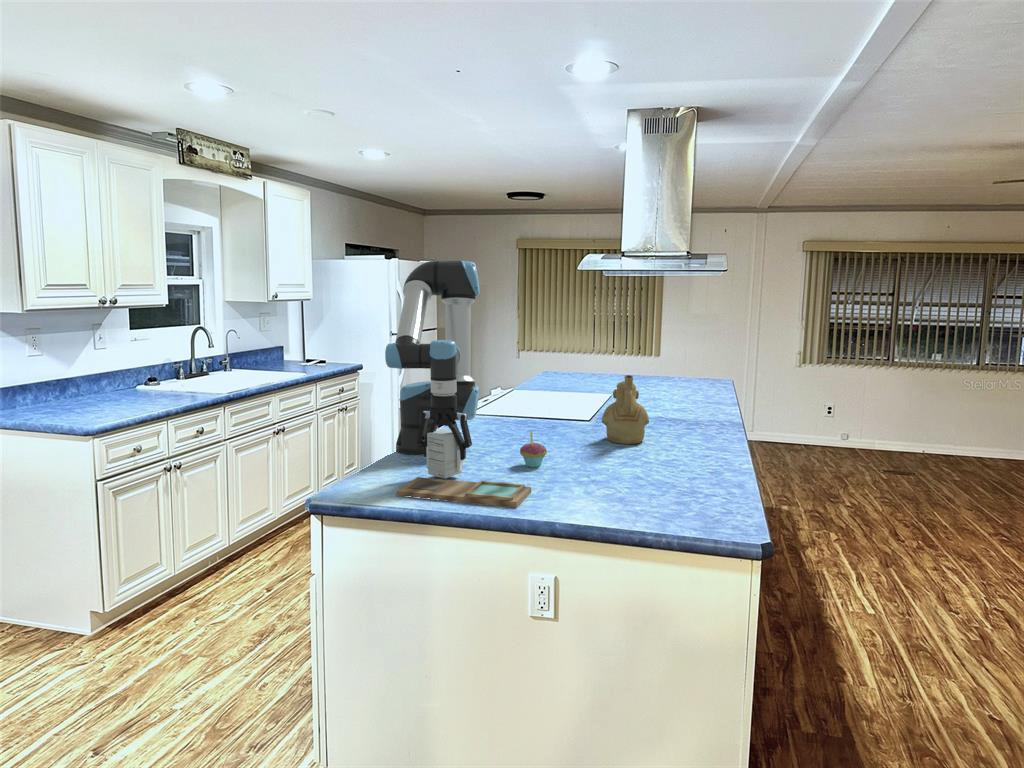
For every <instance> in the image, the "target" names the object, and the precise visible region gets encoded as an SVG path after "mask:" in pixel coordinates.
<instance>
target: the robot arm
mask: <svg viewBox="0 0 1024 768" xmlns="http://www.w3.org/2000/svg"><path fill="white" fill-rule="evenodd" d="M479 282H480V281H479V274H478V270H477V265H476V263H475V262H473V261H469V260H430V261H425V262H424V263H421V264H420V265H418V266H417V267H415V268H414V269H413V270H412V271H411V272H410V274H409V275H408V276H407V278H406V279H405V282H404V285H403V289H402V294H403V296H404V299H403V304H402V308H401V313H400V318H399V323H398V328H397V332H396V338H395V342H393V343H388V344H387V345H386V346H385V350H384V351H385V352H384V354H385V355H384V356H385V358H384V359H385V364H386V366H387V367H388V368H390V369H400V370H403V369H410V370H411V369H429V370H430V380H429V381H418V382H412V383H408V384H405V385H403V386H402V387H401V388H400V390H399V392H400V393H399V411H400V412H399V414H400V415H399V417H400V430H399V433H398V435H397V439H396V443H395V451H396V452H397V453H399V454H402V455H408V456H409V455H412V456H419V455H421V456H422V455H423V457H425V458H426V469H427V470H428V446H427V433H433V432H435V431H437V429H438V427H439V426H444V427H448V428H449V429H448V430H451V431H452V433H453V435H454V437H455V440H456V442H457V444H458V446H459V449H458V450H457V471H458V472H460V471H461V470H462V471H463V470H464V461H465V460H466V459H467V449H469V448H470V447H472V446H473V442H472V438H471V433H470V428H469V425H468V421H472V420H473V419H475V417H476V415H477V410H478V405H479V404H478V403H479V397H480V387H479V386H478V385H476V380H475V379H474V378H473V377H472V376H471V366H472V365H471V361H472V360H471V358H472V357H471V352H472V351H471V349H472V348H471V343H472V342H471V339H472V337H471V335H472V334H471V333H472V332H471V331H472V330H471V329H472V327H471V325H472V323H471V322H472V320H471V319H472V317H471V316H472V305H473V304H474V303H475V302H476V297H478V296H480V293H481V292H480V291H481V290H480V283H479ZM432 296H441V298H440V300H441V302H442V303H443V304H444V305H445V339H438V340H436V339H435V340H433V341H430V343H421V342H422V341H421V340H422V335H423V329H424V324H425V317H426V311H427V306H428V301H430V299H432ZM456 421H459V423H460V424H459V425H460V428H461V431H460V429H459V427H458V424H457V422H456ZM460 432H461V433H460Z"/></svg>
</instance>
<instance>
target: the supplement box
mask: <svg viewBox="0 0 1024 768" xmlns="http://www.w3.org/2000/svg"><path fill="white" fill-rule="evenodd" d="M460 433H461V434H462V431H460ZM427 446H428V469H427V474H428V475H431V476H433V477H438V478H440V479H445V480H447V479H448V478H452V477H454V476H457V475H459V474H462V473H463V470H461V471H460V472H458V471H457V450H458V449H459V446H458V444H457V442H456V440H455V437H454V435H453V433H452V431H451V429H447V428H441V429H438V430H436V431H435V432H433V433H427Z"/></svg>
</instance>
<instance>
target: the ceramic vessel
mask: <svg viewBox="0 0 1024 768" xmlns="http://www.w3.org/2000/svg"><path fill="white" fill-rule="evenodd" d="M633 381H634V376H633V375H630V374H627V375H624V380H621V381H619V383H617V384H616V386H615V387H616V389H613V391H612V396H613V399H615V401H614V402H613V403H611V404H609V405H608V406H607V407H606V408H605V410H604V412H603V413H602V416H601V423H602V424H603V425H605V429H606V437H607V439H608V440H609V442H612V443H614V444H621V445H634V444H635V445H636V444H640V443H641V442H643V440H644V439H645V433H646V431H645V430H646V429H645V427H646V426H647V425H649V423H650V420H649V415H648V413H647V412H648V411H647V410H646V408H645V407H644V406H643V405H641V404H640V403H638V402H637V400H638V399H639V396H640V393H639V390H637V386H636V384H635V383H634V382H633Z"/></svg>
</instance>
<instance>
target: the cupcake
mask: <svg viewBox="0 0 1024 768" xmlns="http://www.w3.org/2000/svg"><path fill="white" fill-rule="evenodd" d="M529 435H530V442H529V443H525V444H523V445H522V446H521V448H520V449H519V454H520V455H521V456H522V457H523V460H524V464H525V466H526V467H528V466H529V468H539V467H541V466H542V463H543V460H544V458H545V456H546V455H547V454H548V452H547V448H546V447H545V446H544V445H542V444H541V443H538V442H537V443H536V442H534V437H533V436H534V435H533V431H532V429H530V434H529ZM538 466H539V467H538Z"/></svg>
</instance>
